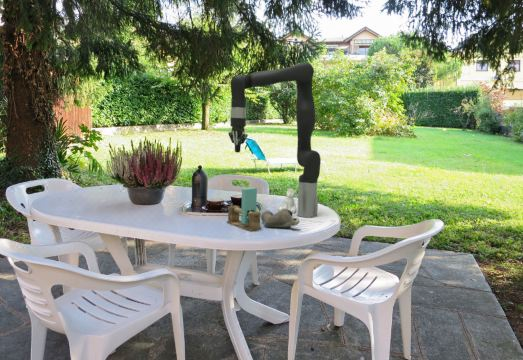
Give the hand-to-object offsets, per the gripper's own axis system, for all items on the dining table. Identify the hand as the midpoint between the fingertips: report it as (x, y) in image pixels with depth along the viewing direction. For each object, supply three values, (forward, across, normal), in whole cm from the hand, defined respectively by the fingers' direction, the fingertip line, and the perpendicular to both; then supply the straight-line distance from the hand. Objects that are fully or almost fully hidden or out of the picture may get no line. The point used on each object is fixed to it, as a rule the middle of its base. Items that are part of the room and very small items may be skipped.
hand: (237, 152), depth 228 cm
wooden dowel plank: (+31, +21, -12) cm, 39 cm away
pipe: (+31, +30, +2) cm, 44 cm away
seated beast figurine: (+31, +12, +25) cm, 42 cm away
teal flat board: (+29, +24, -12) cm, 39 cm away
